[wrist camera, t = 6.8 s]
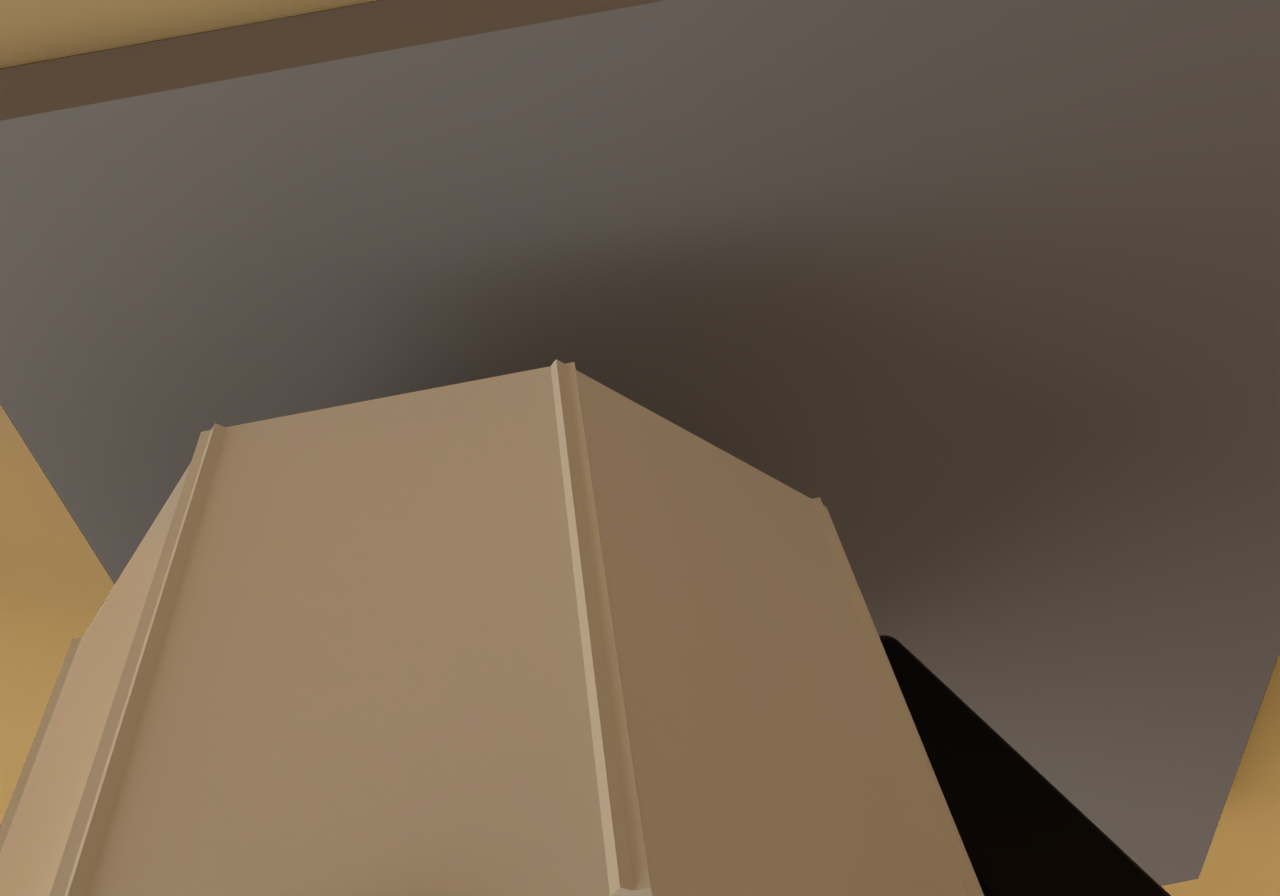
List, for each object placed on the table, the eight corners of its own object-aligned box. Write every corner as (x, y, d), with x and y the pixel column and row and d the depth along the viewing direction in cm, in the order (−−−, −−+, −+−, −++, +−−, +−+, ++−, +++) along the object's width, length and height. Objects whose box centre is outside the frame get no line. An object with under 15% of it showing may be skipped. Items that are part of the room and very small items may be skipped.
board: (1154, 803, 20) (1325, 1097, 16) (404, 948, 19) (387, 1283, 16) (1439, -190, 10) (2092, -63, 6) (-84, 83, 10) (-466, 410, 6)
